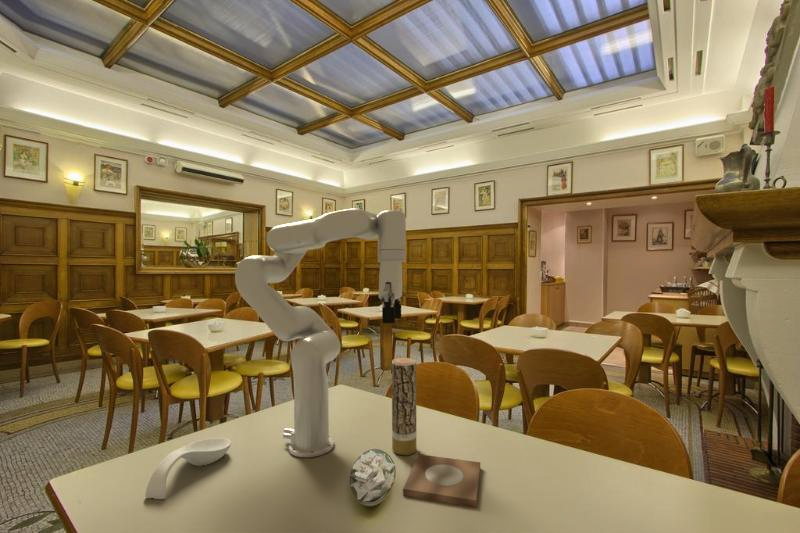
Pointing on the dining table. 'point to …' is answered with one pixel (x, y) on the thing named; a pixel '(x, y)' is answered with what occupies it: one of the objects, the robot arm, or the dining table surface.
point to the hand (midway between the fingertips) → (392, 320)
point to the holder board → (444, 480)
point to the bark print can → (404, 406)
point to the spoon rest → (193, 453)
